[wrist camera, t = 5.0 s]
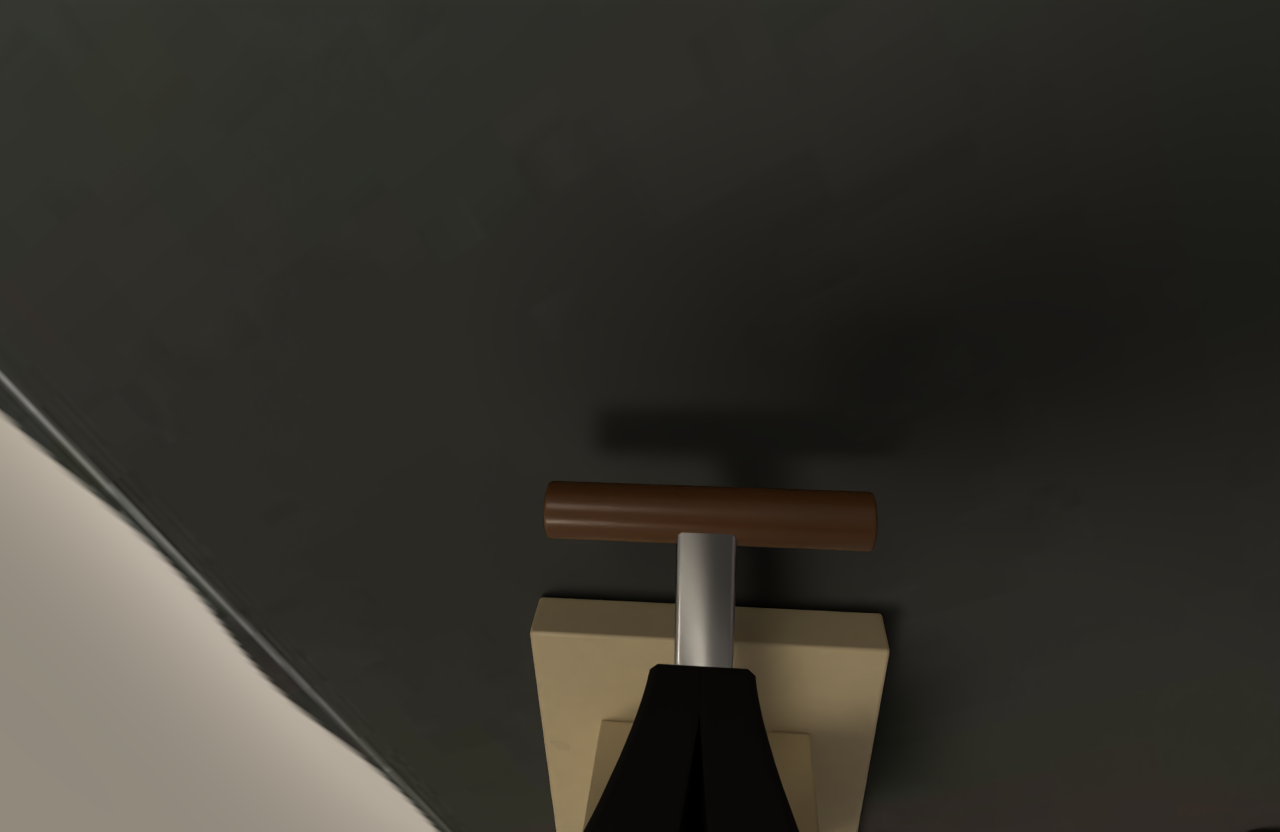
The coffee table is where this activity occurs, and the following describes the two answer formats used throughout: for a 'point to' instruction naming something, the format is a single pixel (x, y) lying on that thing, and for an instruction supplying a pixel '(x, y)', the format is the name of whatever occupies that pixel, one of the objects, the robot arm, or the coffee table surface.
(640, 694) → the bracket
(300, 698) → the coffee table surface
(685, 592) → the lever
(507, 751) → the coffee table surface
